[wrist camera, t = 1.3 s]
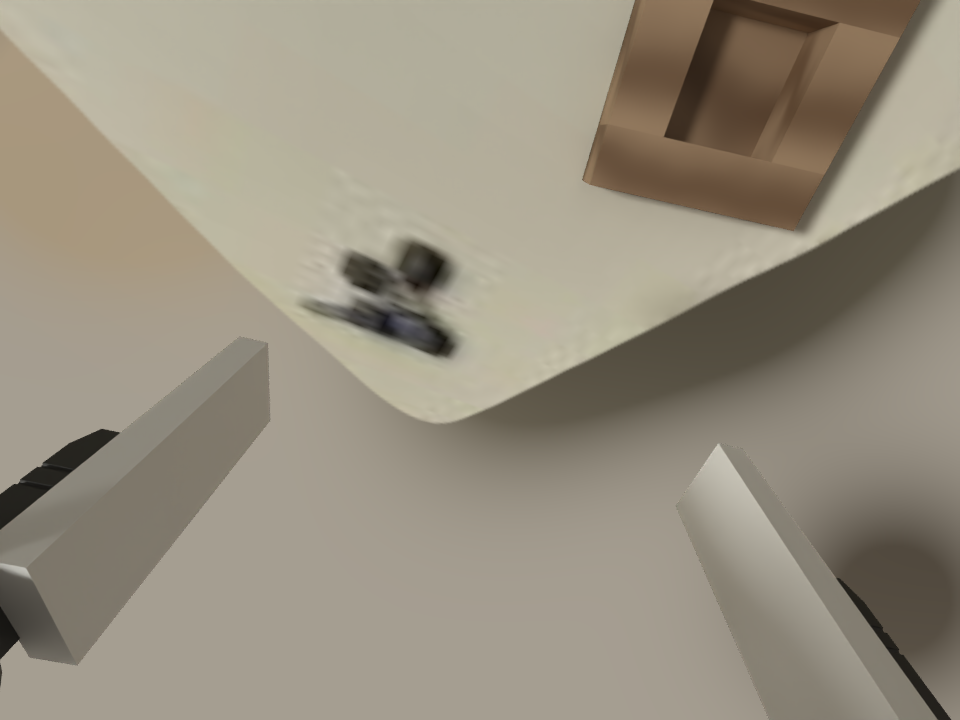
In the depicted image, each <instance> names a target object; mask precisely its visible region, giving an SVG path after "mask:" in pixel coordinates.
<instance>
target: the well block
mask: <svg viewBox="0 0 960 720" xmlns="http://www.w3.org/2000/svg"><path fill="white" fill-rule="evenodd" d="M920 1H921V0H635V3H634V6H633V10H632V13H631V17H630V20H629V23H628V27H627V30H626V34H625V37H624V40H623V44H622V47H621V50H620V54H619V57H618V61H617V64H616V67H615V71H614V74H613V78H612V81H611V84H610V88H609V91H608V94H607V98H606V101H605V105H604V108H603V111H602V115H601V118H600V122H599V125H598V128H597V132H596V135H595V138H594V142H593V145H592V149H591V152H590V155H589V159H588V162H587V166H586V169H585V172H584V176H583V179H582V180H583V181H585V182H586V183H588V184H590V185H593V186H598V187H602V188H607V189H611V190H615V191H620V192H624V193H629V194H633V195H637V196H642V197H646V198H651V199H655V200H660V201H664V202H668V203H673V204H677V205H682V206H686V207H690V208H695V209H699V210H704V211H708V212H712V213H717V214H721V215H726V216H730V217H734V218H739V219H743V220H748V221H752V222H757V223H761V224H765V225H770V226H774V227H779V228H783V229H787V230H792V231H794V229H795V227H796V226H797V224H798V222H799V220H800V218H801V216H802V215H803V213H804V211H805V209H806V207H807V206H808V204H809V202H810V200H811V198H812V197H813V195H814V193H815V191H816V189H817V187H818V186H819V184H820V182H821V180H822V178H823V177H824V175H825V173H826V171H827V169H828V168H829V166H830V164H831V162H832V160H833V158H834V157H835V155H836V153H837V151H838V149H839V148H840V146H841V144H842V142H843V140H844V139H845V137H846V135H847V133H848V131H849V129H850V128H851V126H852V124H853V122H854V120H855V119H856V117H857V115H858V113H859V111H860V110H861V108H862V106H863V104H864V102H865V100H866V99H867V97H868V95H869V93H870V91H871V90H872V88H873V86H874V84H875V82H876V80H877V79H878V77H879V75H880V73H881V71H882V70H883V68H884V66H885V64H886V62H887V61H888V59H889V57H890V55H891V53H892V51H893V50H894V48H895V46H896V44H897V42H898V41H899V39H900V37H901V35H902V33H903V32H904V30H905V28H906V26H907V24H908V22H909V21H910V19H911V17H912V15H913V13H914V12H915V10H916V8H917V6H918V4H919V3H920Z"/></svg>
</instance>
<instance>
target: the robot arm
mask: <svg viewBox="0 0 960 720" xmlns="http://www.w3.org/2000/svg"><path fill="white" fill-rule="evenodd" d="M269 421H270V397H269V365H268V343H266V342H262V341H257V340H253V339H248V338H244V337H238V338H237V339H236V340H235V341H233V342H232V343H231V344H230V345H228V346H227V347H226V348H225V349H223V350H222V351H221V352H220V353H218V354H217V355H216V356H215V357H214V358H212V359H211V360H210V361H209V362H207V363H206V364H205V365H204V366H202V367H201V368H200V369H199V370H197V371H196V372H195V373H194V374H193V375H191V376H190V377H189V378H188V379H186V380H185V381H184V382H183V383H181V385H179V386H178V387H176V388H175V389H174V390H173V391H172V392H170V393H169V394H168V395H167V396H165V397H164V398H163V399H162V400H160V401H159V402H158V403H157V404H155V405H154V406H153V407H152V408H150V410H148V411H147V412H146V413H144V414H143V415H142V416H141V417H139V418H138V419H137V420H136V421H134V422H133V423H132V424H131V425H130V426H128V427H127V428H126V429H124V430H123V431H122V432H121V433H119V432H114V431H109V430H105V429H100V430H98V431H96V432H94V433H91V434H89V435H87V436H85V437H83V438H80V439H78V440H76V441H73V442H71V443H69V444H68V445H67V446H65V447H64V448H62V449H61V450H60V451H58V452H57V453H55V454H54V455H53V456H51V457H50V458H49V459H48V460H46V461H45V462H43V465H42V466H41V467H37V468H35V469H34V470H32V471H31V472H30V473H28V474H27V475H26V476H24V477H23V478H22V479H20V482H19V483H18V484H14V485H12V486H11V487H9V488H8V489H7V490H5V491H4V492H3V493H1V494H0V659H1V658H2V657H3V656H4V655H5V654H6V653H7V652H8V651H9V649H10V648H11V647H12V646H13V645H14V644H15V643H16V642H17V641H18V640H19V641H20V643H21V644H22V646H23V648H24V649H25V651H26V652H27V654H28V656H29V657H30V658H36V659H42V660H48V661H54V662H60V663H66V664H72V665H78V664H79V662H80V661H81V660H82V659H83V657H84V656H85V655H86V653H87V652H88V651H89V650H90V648H91V647H92V646H93V645H94V643H95V642H96V641H97V640H98V638H99V637H100V636H101V635H102V633H103V632H104V631H105V629H106V628H107V627H108V626H109V624H110V623H111V622H112V621H113V619H114V618H115V617H116V615H117V614H118V613H119V612H120V610H121V609H122V608H123V607H124V605H125V604H126V603H127V601H128V600H129V599H130V598H131V596H132V595H133V594H134V593H135V591H136V590H137V589H138V588H139V586H140V585H141V584H142V583H143V581H144V580H145V579H146V577H147V576H148V575H149V574H150V572H151V571H152V570H153V568H154V567H155V566H156V565H157V563H158V562H159V561H160V560H161V558H162V557H163V556H164V555H165V553H166V552H167V551H168V550H169V548H170V547H171V546H172V544H173V543H174V542H175V540H176V539H177V538H178V537H179V536H180V534H181V533H182V532H183V531H184V529H185V528H186V527H187V525H188V524H189V523H190V522H191V520H192V519H193V518H194V517H195V515H196V514H197V513H198V511H199V510H200V509H201V508H202V506H203V505H204V504H205V503H206V501H207V500H208V499H209V497H210V496H211V495H212V494H213V492H214V491H215V490H216V489H217V487H218V486H219V485H220V484H221V482H222V481H223V480H224V479H225V477H226V476H227V475H228V473H229V472H230V471H231V470H232V468H233V467H234V466H235V464H236V463H237V462H238V461H239V459H240V458H241V457H242V456H243V454H244V453H245V452H246V451H247V449H248V448H249V447H250V445H251V444H252V443H253V442H254V440H255V439H256V438H257V436H258V435H259V434H260V433H261V431H262V430H263V429H264V428H265V427H266V425H267V424H268V423H269ZM676 508H677V510H678V513H679V515H680V517H681V519H682V522H683V524H684V526H685V528H686V531H687V533H688V535H689V538H690V540H691V542H692V544H693V547H694V549H695V551H696V554H697V556H698V558H699V561H700V563H701V565H702V567H703V570H704V572H705V574H706V577H707V579H708V581H709V583H710V586H711V588H712V590H713V593H714V595H715V597H716V599H717V602H718V604H719V606H720V609H721V611H722V613H723V615H724V618H725V620H726V622H727V625H728V627H729V629H730V631H731V634H732V636H733V638H734V640H735V643H736V645H737V647H738V650H739V652H740V654H741V656H742V659H743V661H744V663H745V666H746V668H747V670H748V672H749V675H750V677H751V679H752V681H753V684H754V686H755V689H756V691H757V693H758V695H759V698H760V700H761V702H762V704H763V707H764V709H765V711H766V714H767V716H768V718H769V720H951V719H950V717H949V716H948V715H947V713H946V712H945V711H944V709H943V708H942V707H941V705H940V704H939V703H938V702H937V700H936V698H935V697H934V696H933V694H932V693H931V692H930V690H929V689H928V688H927V686H926V685H925V684H924V682H923V681H922V680H921V678H920V677H919V676H918V674H917V673H916V672H915V670H914V669H913V668H912V666H911V665H910V663H909V662H908V661H907V660H906V658H905V657H904V655H901V654H899V651H898V650H899V649H898V647H897V646H896V645H895V644H894V642H893V641H892V639H891V638H890V636H889V635H888V634H887V633H884V632H883V627H882V626H881V624H880V623H879V622H878V620H877V619H876V618H875V616H874V615H873V614H872V612H871V611H870V609H869V608H868V607H867V605H866V604H865V603H864V602H863V601H862V600H861V599H860V598H859V597H858V596H857V595H856V594H855V593H854V592H853V591H852V590H851V589H850V588H849V587H848V586H847V585H846V584H845V583H844V582H843V581H841V579H839V578H835V576H834V575H833V573H832V572H831V571H830V569H829V568H828V567H827V565H826V564H825V562H824V561H823V560H822V558H821V557H820V555H819V554H818V553H817V551H816V550H815V548H814V547H813V546H812V544H811V543H810V542H809V540H808V539H807V537H806V536H805V534H804V533H803V532H802V530H801V529H800V528H799V526H798V525H797V524H796V522H795V521H794V519H793V518H792V516H791V515H790V514H789V512H788V511H787V510H786V508H785V507H784V505H783V504H782V503H781V501H780V500H779V498H778V497H777V496H776V494H775V493H774V491H773V490H772V489H771V487H770V486H769V485H768V483H767V482H766V480H765V479H764V477H763V476H762V475H761V473H760V472H759V471H758V469H757V468H756V466H755V465H754V464H753V462H752V461H751V459H750V458H749V457H748V455H747V454H746V452H745V451H744V450H743V449H742V448H738V447H733V446H728V445H724V444H719V443H718V445H717V446H716V447H715V449H714V450H713V452H712V453H711V455H710V456H709V458H708V459H707V461H706V462H705V464H704V465H703V467H702V468H701V470H700V471H699V473H698V474H697V475H696V477H695V479H694V480H693V481H692V483H691V484H690V486H689V487H688V489H687V490H686V492H685V493H684V495H683V496H682V498H681V499H680V500H679V502H678V503H677V505H676ZM1 676H2V670H1V665H0V685H1Z"/></svg>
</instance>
